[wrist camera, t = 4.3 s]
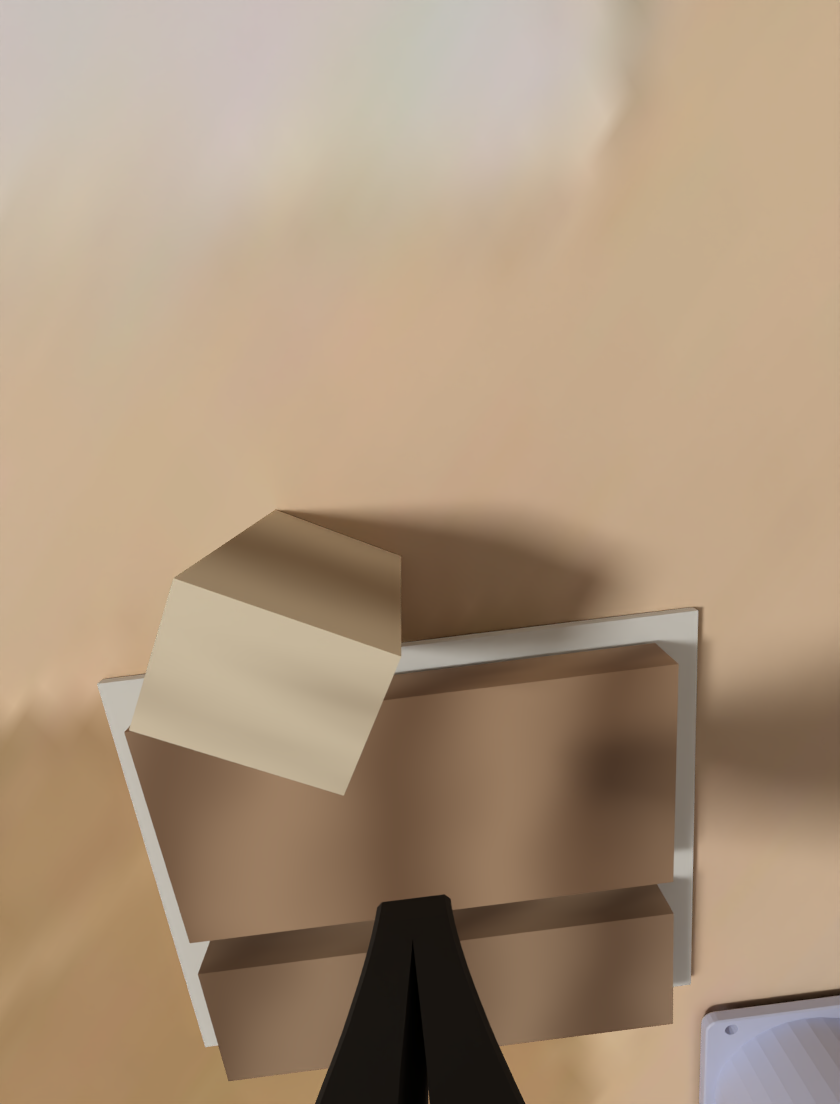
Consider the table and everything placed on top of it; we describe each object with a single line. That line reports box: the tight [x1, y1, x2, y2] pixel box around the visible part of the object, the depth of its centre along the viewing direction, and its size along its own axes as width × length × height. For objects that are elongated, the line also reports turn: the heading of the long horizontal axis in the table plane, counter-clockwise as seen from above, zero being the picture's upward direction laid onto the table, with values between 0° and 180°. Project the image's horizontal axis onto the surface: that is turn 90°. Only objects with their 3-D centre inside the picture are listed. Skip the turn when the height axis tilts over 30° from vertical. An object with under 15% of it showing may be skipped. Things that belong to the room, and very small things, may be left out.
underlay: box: [97, 607, 698, 1047], centre depth 18 cm, size 19×16×1 cm
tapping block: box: [129, 510, 401, 796], centre depth 12 cm, size 7×4×3 cm
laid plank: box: [198, 884, 674, 1081], centre depth 18 cm, size 16×5×2 cm, turn 97°
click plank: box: [124, 643, 679, 943], centre depth 16 cm, size 16×8×1 cm, turn 97°
